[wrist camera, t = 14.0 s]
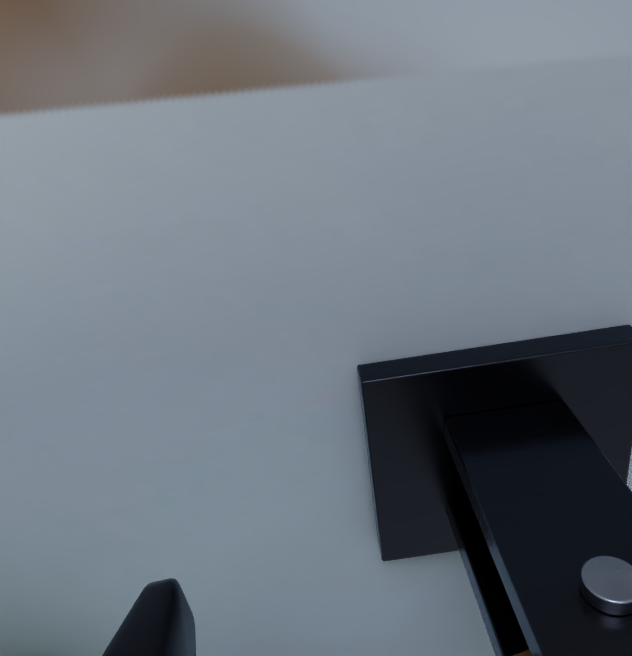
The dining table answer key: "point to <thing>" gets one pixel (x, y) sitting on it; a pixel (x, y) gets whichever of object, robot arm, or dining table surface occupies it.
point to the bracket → (514, 481)
